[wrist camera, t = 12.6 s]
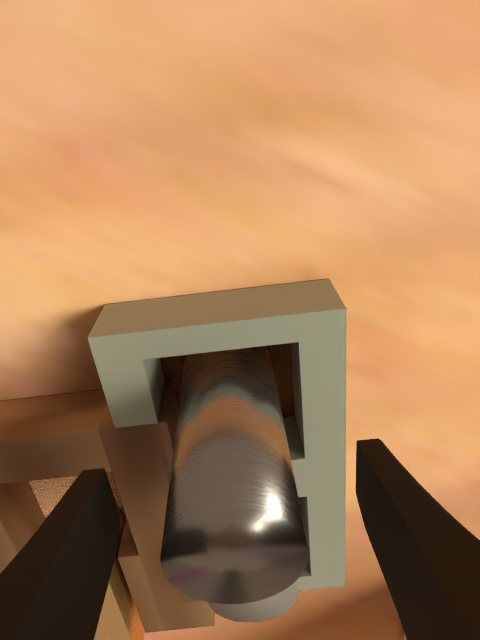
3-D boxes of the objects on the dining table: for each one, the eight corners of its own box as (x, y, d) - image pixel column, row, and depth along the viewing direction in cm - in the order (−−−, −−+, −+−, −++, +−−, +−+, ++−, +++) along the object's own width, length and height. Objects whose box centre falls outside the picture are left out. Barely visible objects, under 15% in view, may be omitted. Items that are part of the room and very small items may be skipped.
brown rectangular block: (118, 508, 21) (103, 569, 18) (149, 597, 24) (140, 662, 21) (71, 513, 21) (49, 575, 18) (108, 602, 24) (94, 666, 21)
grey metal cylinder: (278, 392, 18) (318, 590, 11) (197, 409, 18) (183, 614, 11) (262, 319, 16) (295, 495, 9) (173, 339, 17) (139, 525, 10)
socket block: (172, 381, 18) (166, 422, 15) (214, 576, 23) (214, 625, 21) (-68, 408, 18) (-108, 452, 16) (32, 595, 23) (13, 646, 21)
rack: (329, 278, 16) (366, 343, 12) (333, 538, 22) (358, 636, 18) (104, 304, 16) (66, 377, 12) (174, 555, 22) (163, 657, 18)
